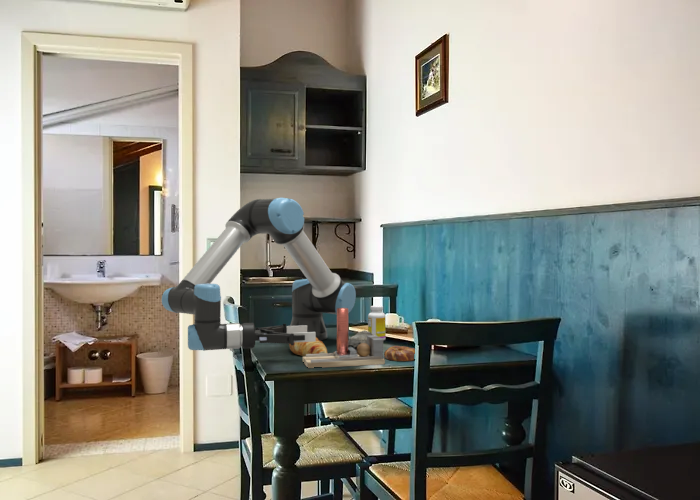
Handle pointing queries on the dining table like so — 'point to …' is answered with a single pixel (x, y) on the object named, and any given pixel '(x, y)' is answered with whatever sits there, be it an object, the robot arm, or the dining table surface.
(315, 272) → the robot arm
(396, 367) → the dining table surface
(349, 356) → the handle
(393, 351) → the pretzel
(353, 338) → the rock
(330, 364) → the base
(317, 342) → the croissant
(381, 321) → the supplement bottle
